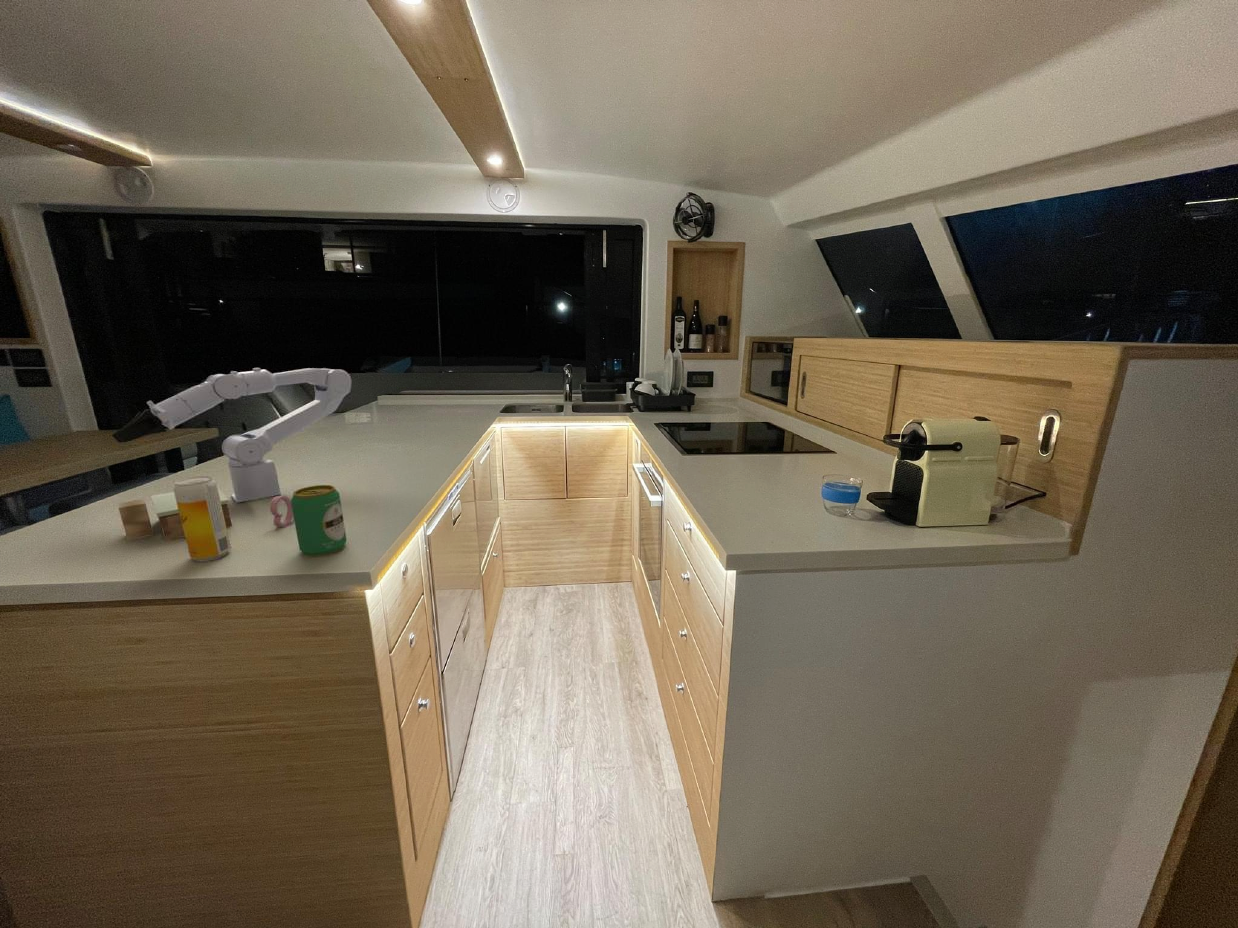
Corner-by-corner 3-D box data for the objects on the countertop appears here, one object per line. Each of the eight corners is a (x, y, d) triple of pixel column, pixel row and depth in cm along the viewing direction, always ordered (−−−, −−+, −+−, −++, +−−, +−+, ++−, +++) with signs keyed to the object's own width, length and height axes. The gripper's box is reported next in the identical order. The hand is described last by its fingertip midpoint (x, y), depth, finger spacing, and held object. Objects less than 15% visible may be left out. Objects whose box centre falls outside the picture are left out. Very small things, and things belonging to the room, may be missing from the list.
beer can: (206, 549, 98) (188, 476, 94) (239, 548, 98) (222, 475, 94) (182, 563, 92) (162, 485, 88) (217, 562, 92) (199, 484, 88)
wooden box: (220, 508, 120) (215, 489, 119) (232, 525, 110) (227, 505, 108) (159, 520, 113) (153, 500, 112) (165, 540, 102) (159, 518, 101)
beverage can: (327, 559, 93) (317, 498, 90) (290, 556, 95) (278, 495, 91) (356, 541, 101) (347, 485, 98) (321, 539, 102) (311, 483, 99)
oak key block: (152, 529, 108) (144, 498, 106) (153, 534, 105) (145, 503, 103) (126, 534, 105) (117, 503, 103) (127, 540, 102) (118, 507, 101)
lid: (217, 487, 119) (213, 472, 118) (228, 503, 108) (225, 486, 107) (151, 499, 111) (147, 483, 110) (157, 517, 101) (152, 499, 100)
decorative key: (333, 511, 127) (276, 529, 107) (329, 511, 127) (271, 529, 107) (332, 484, 126) (274, 497, 106) (327, 484, 126) (269, 497, 106)
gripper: (165, 393, 118) (98, 424, 110) (177, 388, 109) (105, 421, 100) (188, 418, 121) (125, 450, 113) (201, 415, 112) (133, 450, 104)
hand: (117, 438), depth 107 cm, fingers open, 7 cm apart
